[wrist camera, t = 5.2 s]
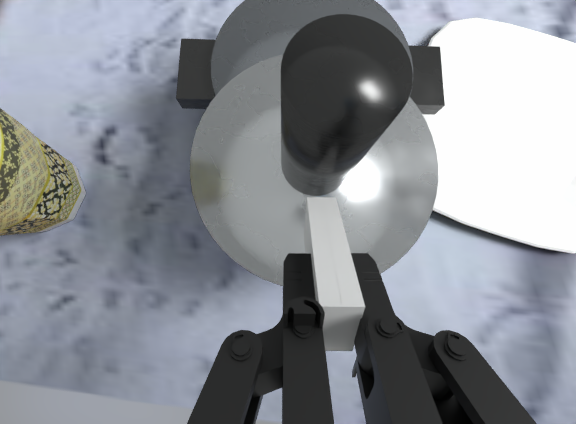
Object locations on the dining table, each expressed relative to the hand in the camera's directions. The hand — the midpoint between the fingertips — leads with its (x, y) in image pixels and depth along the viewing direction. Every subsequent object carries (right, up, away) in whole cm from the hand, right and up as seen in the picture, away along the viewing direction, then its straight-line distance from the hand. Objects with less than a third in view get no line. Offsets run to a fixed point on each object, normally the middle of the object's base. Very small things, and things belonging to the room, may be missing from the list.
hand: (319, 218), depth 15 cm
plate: (+21, +8, +14) cm, 26 cm away
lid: (0, +3, +4) cm, 5 cm away
